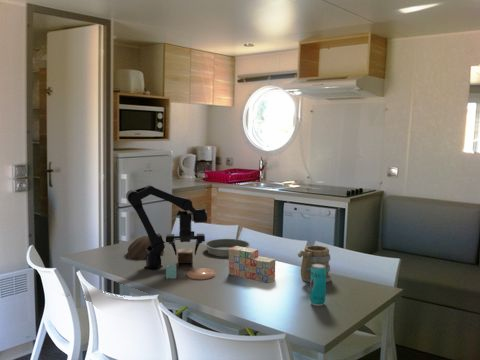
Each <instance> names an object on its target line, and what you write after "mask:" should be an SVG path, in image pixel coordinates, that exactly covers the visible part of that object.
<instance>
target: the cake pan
mask: <svg viewBox="0 0 480 360" xmlns="http://www.w3.org/2000/svg"><path fill="white" fill-rule="evenodd" d="M250 245H251V244H250V242H248V241H246V240H242V239H238V238H237V239H236V238H217V239H216V238H215V239H211V240H208V241H205V243H204V246H205V247H206V249H207V253H208V254H210V255H211V256H217V257H224V256H225V257H228V258H229V248H232V247H235V246H240V247H246V248H250V247H251V246H250Z"/></svg>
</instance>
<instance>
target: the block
mask: <svg viewBox="0 0 480 360" xmlns="http://www.w3.org/2000/svg"><path fill="white" fill-rule="evenodd" d="M168 278H170V279H177V264H166V266H165V279H166V280H167V279H168Z"/></svg>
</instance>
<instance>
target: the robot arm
mask: <svg viewBox="0 0 480 360" xmlns="http://www.w3.org/2000/svg"><path fill="white" fill-rule="evenodd" d="M148 196H153V197H154V196H155V197H156V198H159V199H161V200H164V201H166V202H169V203H171V204H173V205H175V206H176V207H178V208H179V209H178V210H177V211H175V213H174V214H175V215H176V216H179V233H178V234H179V235H175V234H174V233H167V234H166V236H165V241H164V239H163V237H162V235H161V233H159V232H158V233H156V231H155V229H154V226H153V225H152V223H151V221H150V218H149V217H148V215H147V213H146V211H145V209H144V206H143V202H142V200H143V199H146V198H147V197H148ZM125 199H126V200H127V201H128V203H129V204H130V205H131V207H132V209H134V211H135V212H136V215H137V217H138V219H139V220H140V223H141V225H142V227H143V229H144V231H145V233H146V236H148V239H149V243H150V245H149V246H148V247H147V248H146V252H147V253H148V254H147V255H146V259H145V260H146V261H145V263H146V264H145V266H144V267H143V268H144V269H147V270H154V271H155V270H158V269H161V268H163V265H162V258H161V257H162V256H161V252H162V251H163V250H164V251H165V248H166V246H165V244H166V243H168V244H169V245H171V246H172V248H173V249H172V250H173V253H174V255H175V256H178V250H177V246H176V245H177V244H176V241H179V242H180V243H191V240H193V241H194V240H195V247H194V256H196V255H197V251H198V248H199V246H200V244H202V243H204V242H206V237H205V235H206V234H205V233H196V235H195V230H194V231H193V230H192V222H193V223H194V224H201V223H207V221H208V215H207V209H205V208H198V209H197V208H195V207H194V205H193V202H192V200H191V199H189V198H187V197H186V196H185V197H184V196H180V195H174V194H171V193H170V192H167V191H164V190H162V189H159V188H157V187H154V186H153V185H150V184H148V185H146V186H144V187H141V188H137V189H129V190H128V191H127V192H126V193H125ZM180 209H181V210H180ZM188 211H189V212H188Z"/></svg>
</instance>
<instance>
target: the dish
mask: <svg viewBox="0 0 480 360" xmlns="http://www.w3.org/2000/svg"><path fill="white" fill-rule="evenodd" d="M216 275H217V274H216V271H215V270H214V269H212V268H206V267H198V268H193V269H189V270H187V271H186V277H187V278H189V279H191V280H192V279H193V280H199V281H202V280H209V279H213V278H214V277H216Z"/></svg>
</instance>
